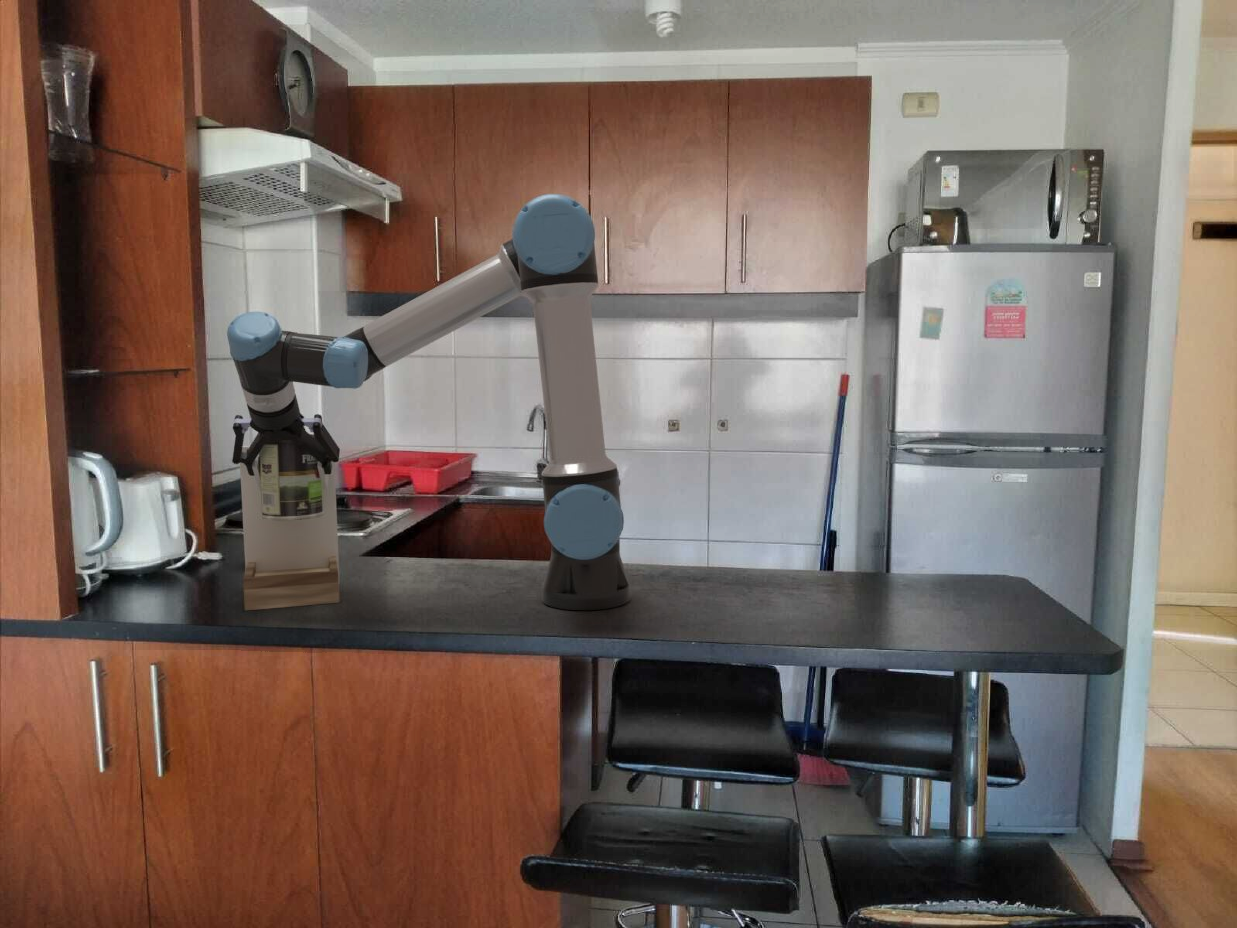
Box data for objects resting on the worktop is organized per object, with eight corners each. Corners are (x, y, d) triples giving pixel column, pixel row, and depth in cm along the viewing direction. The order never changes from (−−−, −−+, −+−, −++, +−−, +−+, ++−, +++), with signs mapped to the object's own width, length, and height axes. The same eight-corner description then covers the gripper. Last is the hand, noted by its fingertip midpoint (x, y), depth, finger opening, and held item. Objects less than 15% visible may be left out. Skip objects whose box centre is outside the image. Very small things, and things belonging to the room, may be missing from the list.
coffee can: (333, 512, 167) (330, 433, 166) (306, 521, 157) (303, 438, 155) (279, 511, 168) (276, 433, 167) (249, 520, 158) (246, 437, 157)
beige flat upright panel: (339, 584, 172) (333, 444, 169) (246, 591, 167) (239, 447, 164) (339, 581, 174) (333, 443, 171) (247, 589, 169) (239, 446, 166)
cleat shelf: (339, 602, 159) (338, 571, 158) (244, 610, 154) (243, 578, 153) (336, 584, 172) (335, 556, 171) (249, 591, 167) (248, 562, 166)
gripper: (191, 415, 144) (223, 502, 161) (342, 414, 147) (358, 499, 164) (200, 380, 148) (230, 468, 165) (346, 380, 151) (361, 466, 168)
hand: (294, 483), depth 165 cm, fingers closed on coffee can, 10 cm apart
